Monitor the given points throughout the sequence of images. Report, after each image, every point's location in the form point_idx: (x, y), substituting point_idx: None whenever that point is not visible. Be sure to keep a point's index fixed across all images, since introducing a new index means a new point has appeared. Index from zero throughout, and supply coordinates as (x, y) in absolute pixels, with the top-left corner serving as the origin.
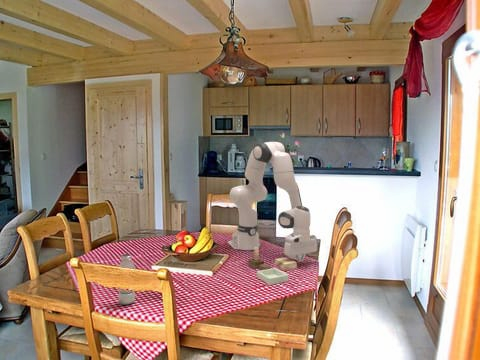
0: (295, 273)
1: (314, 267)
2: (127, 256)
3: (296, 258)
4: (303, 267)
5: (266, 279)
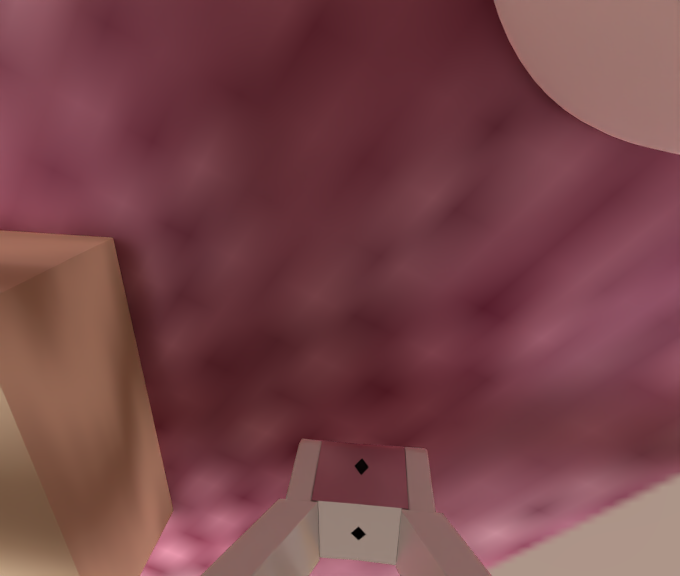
0: None
1: None
2: None
3: (570, 111)
4: None
5: None
